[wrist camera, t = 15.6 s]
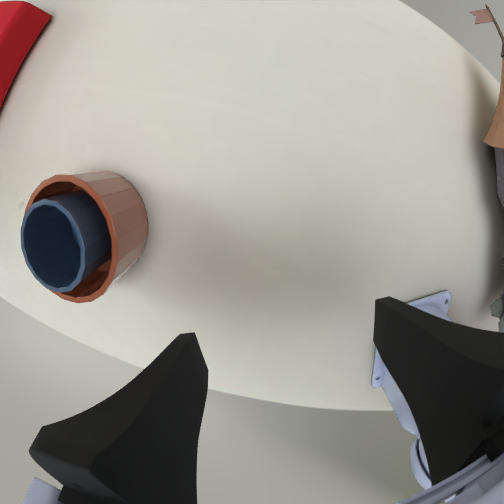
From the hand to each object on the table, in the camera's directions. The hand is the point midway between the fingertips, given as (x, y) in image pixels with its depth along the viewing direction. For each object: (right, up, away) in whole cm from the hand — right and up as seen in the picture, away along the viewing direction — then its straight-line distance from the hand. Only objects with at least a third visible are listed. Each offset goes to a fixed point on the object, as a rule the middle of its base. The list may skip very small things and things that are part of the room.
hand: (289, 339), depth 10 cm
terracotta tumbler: (-13, +5, +8) cm, 16 cm away
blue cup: (-13, +5, +8) cm, 16 cm away
